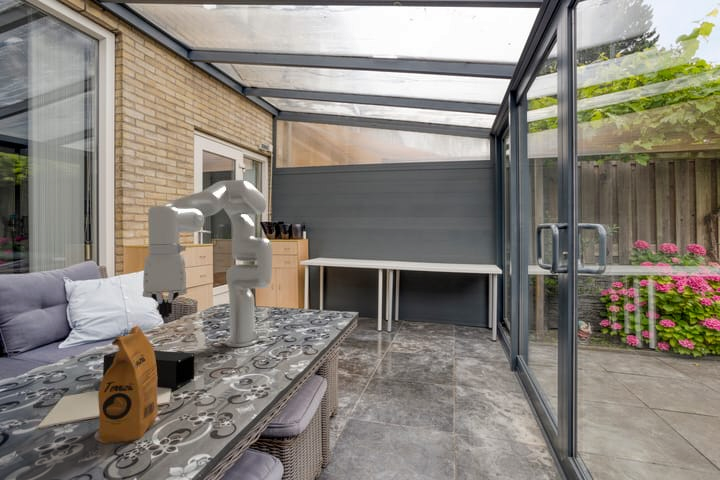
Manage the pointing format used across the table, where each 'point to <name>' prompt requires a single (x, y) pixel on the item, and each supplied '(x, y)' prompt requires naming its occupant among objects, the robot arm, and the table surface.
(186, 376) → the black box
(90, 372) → the table surface
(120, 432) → the coffee package
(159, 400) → the mat
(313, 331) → the table surface
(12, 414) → the table surface
